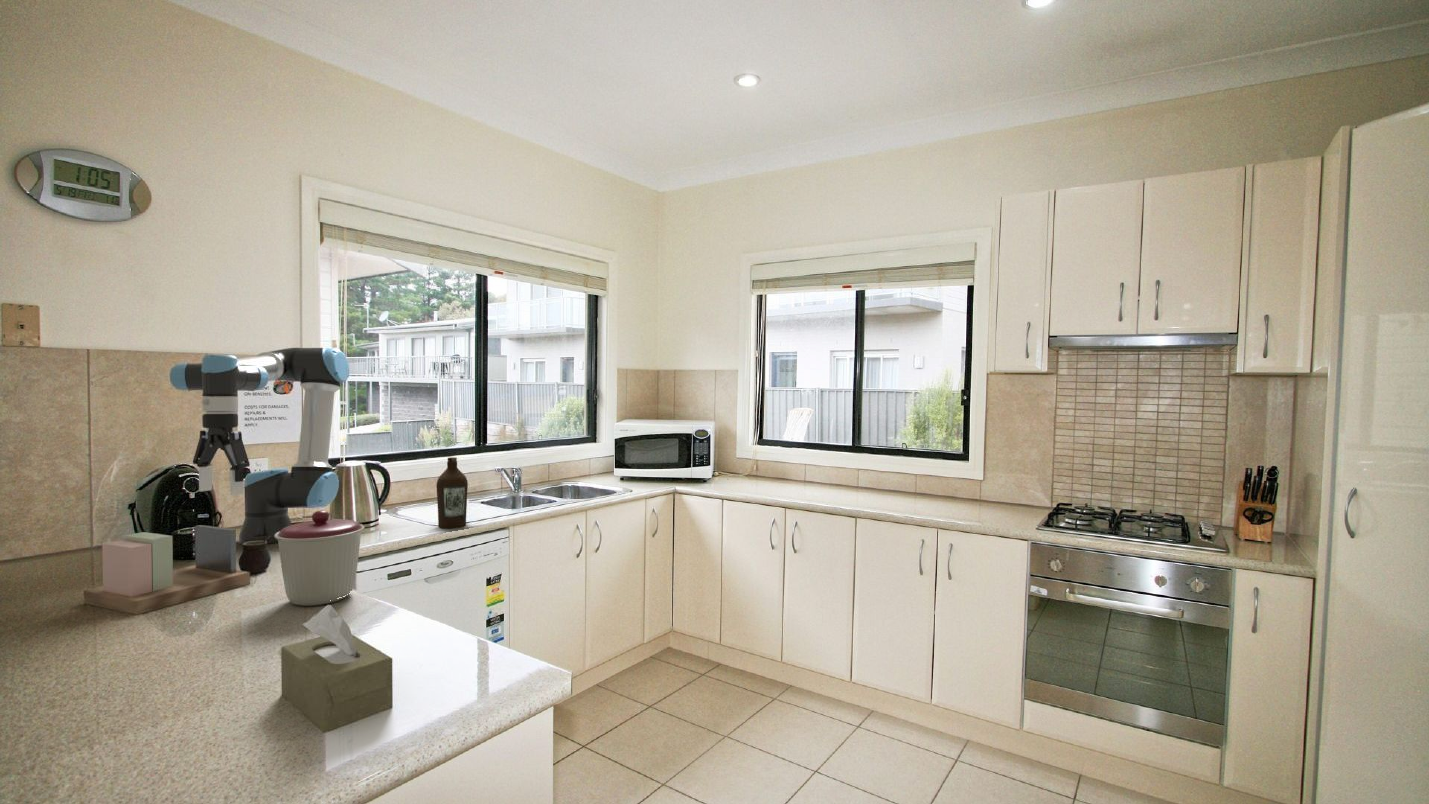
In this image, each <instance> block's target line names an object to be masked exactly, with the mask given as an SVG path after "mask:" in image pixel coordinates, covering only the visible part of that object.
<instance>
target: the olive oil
mask: <svg viewBox="0 0 1429 804" xmlns="http://www.w3.org/2000/svg"><path fill="white" fill-rule="evenodd" d="M457 459H458V458H457V457H454V456H453V457H452V456H451V457H450V456H449V457H447V462H446V465H447V467H446V469H445V470H444V471H443V472H442V473H441V474H440V475H439V476H438V477H437V481H436V485H435V486H436V498H437V500H436V501H437V502H436V503H437V519H438V520H437V523H438V528H441V529H455V528H456V529H458V528H462V527H465V526H466V525H467V508H468V507H467V506H468V486H469V483H468V478H467V476H466V475H465V474H464V473H463V472H462V471H461V470H460V469H459V468H458V460H457Z"/></svg>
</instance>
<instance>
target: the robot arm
mask: <svg viewBox="0 0 1429 804" xmlns="http://www.w3.org/2000/svg"><path fill="white" fill-rule="evenodd" d="M201 359H202V360H201V361H202V362H197V363H189V362H186V363H176V364H175V365H174V366H173V367H172V368H171V369H170V370H169V382H170V384H171V386H172V387H173V388H175V389H176V390H179V391H188V392H190V391H202V394H201V396H202V398H201V399H202V400H201V402H200V403H201V404H202V412H204V414H203V413H202V419H201V421H202V428H204V429H205V430H200V431H199V440H198V443H197V445H196V449H195V453H194V455H193V460H192V464H193V465H196V466H197V467H198V491H199V492H207V491H213V467H212V466H213V464H212V461H213V459H214V457H215V455H216V454H217V452H218V450H219V449H220V450H222V451H223V452H224V454H225V457H226V458H227V460H228V462H229V464H230V466H231V467H230V469H229V470H230V475H229V478H230V480H229V481H230V486H229V487H230V495H231V496H235V495H242V494H244V520H243V523H242V525H241V528H240V530H239V534H238V536H237V539H238V540H237V541H238V544H240V545H242V544H243V543H246V542H250V541H264V540H265V539H267V538H268V537H269V536H270V535H271V536H270V537H269V539H268V540H267V545H268V544H275V543H278V539H276V538H275V537H274V535H275V534H276V533H277V532H279V531H281V530H282V529H283V528H285V527H287V526H290V525H293V524H292V521H291V518H290V517H289V509H305V508H306V509H316V508H319V509H320V508H325V507H328V506H329V505H330V504H332V503H333V501H334V500H335V498H336V497H337V495H338V491H339V488H340V487H339V485H340V480H339V476H338V474H336V472H334V471H333V466H332V465H330V463H329V454H330V442H331V433H332V423H333V422H332V421H333V412H334V411H333V410H334V404H335V403H334V402H335V393H336V392H338V391H339V390H340V389H341V385H342V383H344V382H346V381H347V380H348V378H349V376H350V365H349V361H348V359H347V357H346V355H345V353H344V352H343V351H342V350H340V349H338V348H334V347H331V348H330V347H326V346H325V347H289V348H288V347H286V348H282V349H276V350H270V351H265V352H260V353H259V354H258V355H256V356H249V357H240V358H237V356H235V355H233V354H232V355H231V354H206V355H203V357H202V358H201ZM272 381H273V382H274V381H284V382H285V381H287V382H295V383H297V382H299V383H300V387H301V388H302V389H303V390H304V395H303V396H304V398H303V406H302V415H301V416H302V417H301V425H300V435H299V442H298V443H299V445H298V455H297V461H296V463H294V464H293V465H292V466H291V467H290V472H289V470H288V468H287V467H280V468H273V469H266V470H265V469H264V470H258V471H254V472H249V473H247V474H246V476H245V477H244V474H245V473H244V471H245V470H244V469H245V468H248V467H250V465H251V464H250V463H251V462H250V461H249V457H248V454H247V452H246V448H245V444H244V442H243V435H242V431H240V430H238V431H234V430H233V429H234V428H238V426H239V414H238V413H236V412H238V411H239V396H238V395H239V394H238V393H239V392H238V391H242V392H243V391H245V392H247V391H248V392H255V391H260V390H262V389H264V388H266V386H267V384H268V383H269V382H272Z"/></svg>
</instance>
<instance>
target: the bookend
mask: <svg viewBox="0 0 1429 804" xmlns="http://www.w3.org/2000/svg"><path fill="white" fill-rule="evenodd" d="M194 531H195V532H194V533H195V534H194V537H195V539H194V540H195V541H194V543H195V544H194V546H195V547H194V548H195V549H194V550H195V551H194V552H195V565H196V568H199V569H206V570H212V571H218V572H224V573H230V574H232V573H236V570H237V528H236V529H234V528H227V527H220V526H211V525H202V524H200V525H195V526H194Z"/></svg>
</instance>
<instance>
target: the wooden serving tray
mask: <svg viewBox="0 0 1429 804" xmlns="http://www.w3.org/2000/svg"><path fill="white" fill-rule="evenodd" d="M250 584H251V574H250V572H246V571H241V570H240V569H238V570H237V569H236V573H232V574H230V573H224V572H218V571H212V570H206V569H199V568H196V564H194V565H190V566H186V567H181V568H176V569H173V587H169V588H165V589H161V590H157V591H152V592H149V593H145V594H141V595H137V596H133V597H131V596H126V595H121V594H116V593H111V592H106V591H103V585H102V586H97V587H93V588H88V589H85V590H83V604H85V605H90V606H96V607H99V608H104V609H109V610H113V611H117V612H122V613H123V612H124V613H128V614H134V615H140V614H143V613H147V612H151V611H155V610H159V609H163V608H166V607H171V606H174V605H177V604H181V603H184V602H188V601H192V600H195V599H196V600H197V599H199V598H203V597H206V596H210V595H211V596H212V595H214V594H217V593H221V592H222V593H223V592H224V591H230V590H232V589H236V588H240V587H243V586H247V585H250Z"/></svg>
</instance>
